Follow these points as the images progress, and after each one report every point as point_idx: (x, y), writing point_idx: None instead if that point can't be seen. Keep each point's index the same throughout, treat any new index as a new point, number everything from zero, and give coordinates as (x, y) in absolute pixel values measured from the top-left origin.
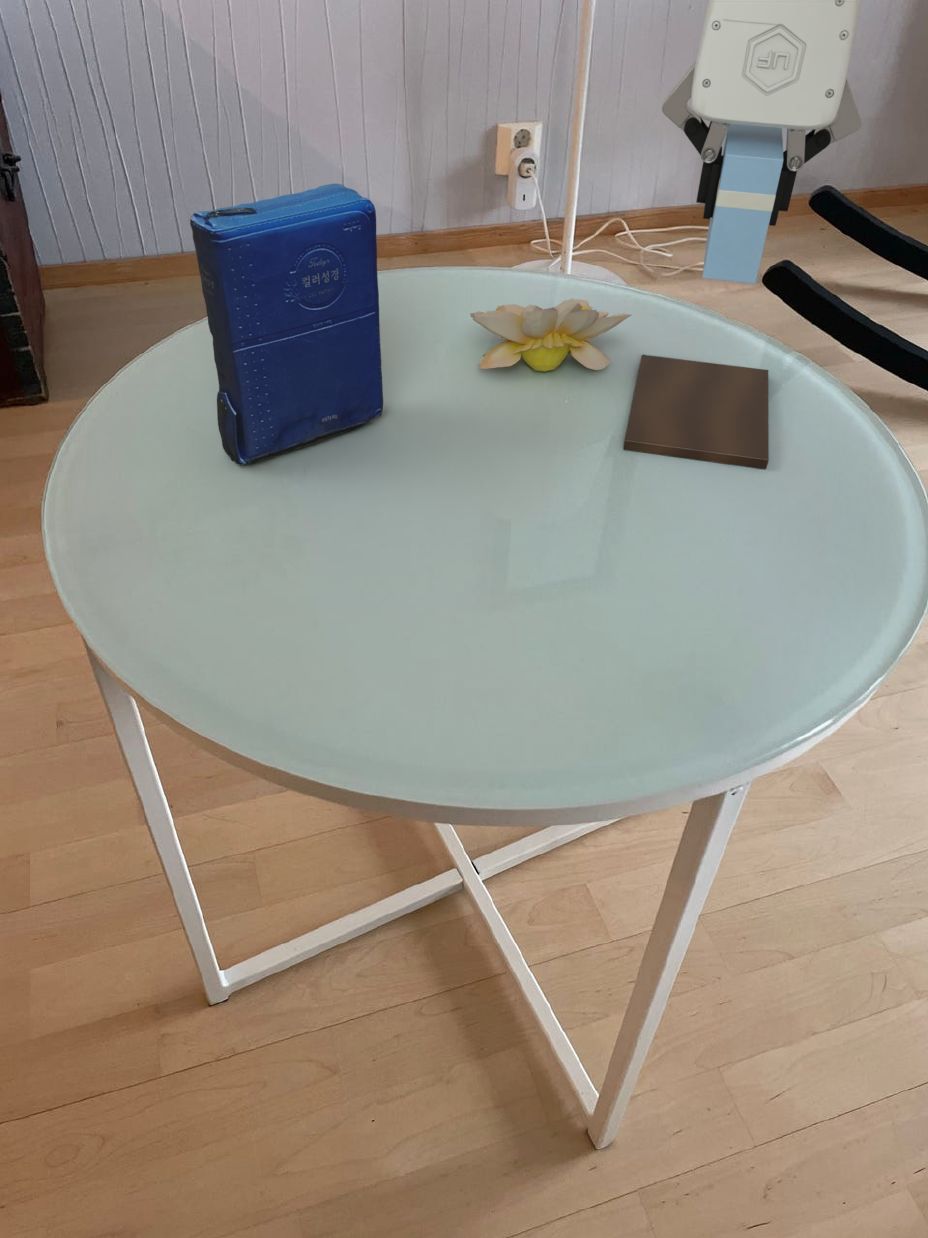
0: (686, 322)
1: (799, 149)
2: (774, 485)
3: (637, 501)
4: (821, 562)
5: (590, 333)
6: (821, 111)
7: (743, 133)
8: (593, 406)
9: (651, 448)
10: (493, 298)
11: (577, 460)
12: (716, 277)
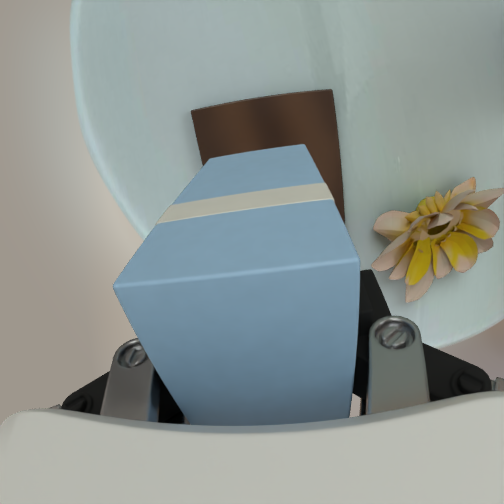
0: None
1: (119, 380)
2: (181, 89)
3: (294, 14)
4: (129, 9)
5: (403, 233)
6: (7, 445)
7: None
8: (374, 158)
9: (304, 91)
10: (461, 305)
11: (365, 59)
12: (279, 147)
